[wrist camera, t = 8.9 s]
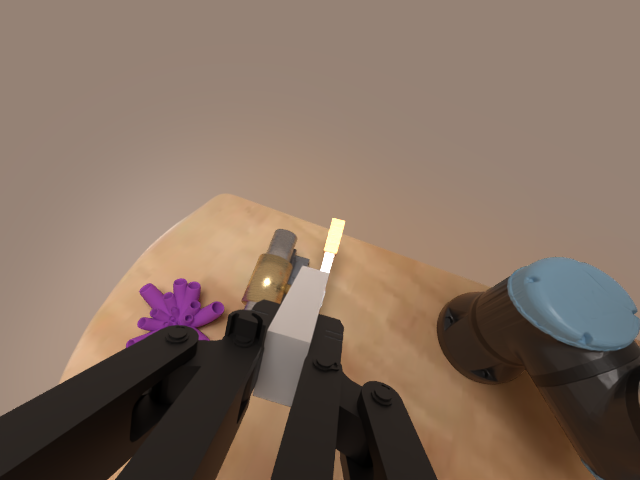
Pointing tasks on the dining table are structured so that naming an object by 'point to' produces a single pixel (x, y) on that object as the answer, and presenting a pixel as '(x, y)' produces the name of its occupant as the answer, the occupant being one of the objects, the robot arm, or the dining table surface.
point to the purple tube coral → (176, 309)
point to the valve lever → (332, 245)
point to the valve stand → (274, 270)
